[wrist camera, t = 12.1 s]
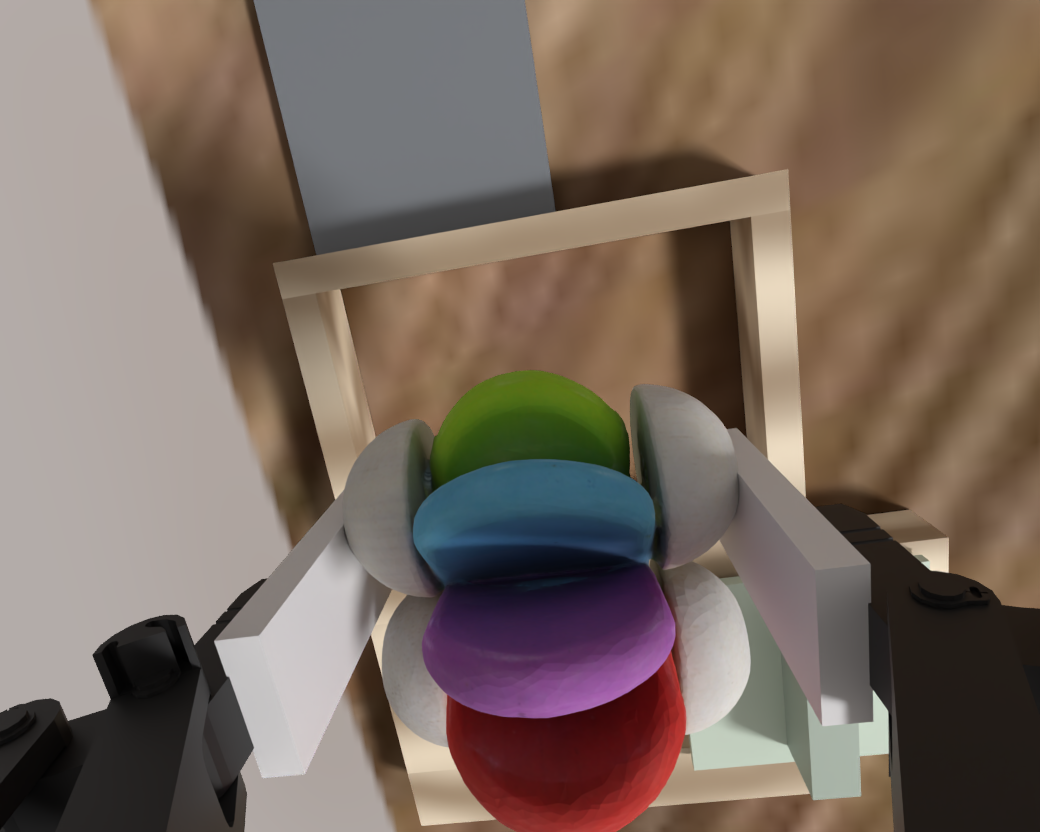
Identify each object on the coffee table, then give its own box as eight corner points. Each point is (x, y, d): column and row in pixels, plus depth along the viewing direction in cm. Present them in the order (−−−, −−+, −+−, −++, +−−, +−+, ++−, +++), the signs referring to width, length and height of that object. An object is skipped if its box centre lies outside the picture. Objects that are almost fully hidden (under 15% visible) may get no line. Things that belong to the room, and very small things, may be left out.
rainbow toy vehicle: (429, 696, 18) (345, 990, 11) (359, 375, 15) (190, 487, 8) (723, 672, 17) (840, 973, 10) (701, 329, 14) (837, 410, 7)
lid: (670, 584, 28) (687, 631, 24) (921, 554, 27) (976, 599, 23) (691, 760, 30) (709, 826, 27) (922, 740, 29) (971, 805, 26)
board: (301, 262, 28) (272, 263, 25) (907, 152, 25) (952, 139, 23) (432, 779, 36) (421, 825, 33) (911, 735, 33) (946, 782, 30)
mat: (259, 4, 25) (253, -1, 25) (516, -54, 24) (515, -62, 24) (324, 269, 28) (320, 269, 28) (557, 227, 27) (557, 226, 26)
